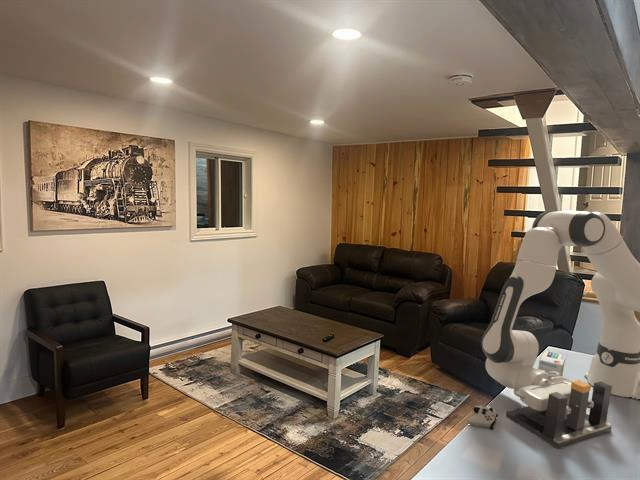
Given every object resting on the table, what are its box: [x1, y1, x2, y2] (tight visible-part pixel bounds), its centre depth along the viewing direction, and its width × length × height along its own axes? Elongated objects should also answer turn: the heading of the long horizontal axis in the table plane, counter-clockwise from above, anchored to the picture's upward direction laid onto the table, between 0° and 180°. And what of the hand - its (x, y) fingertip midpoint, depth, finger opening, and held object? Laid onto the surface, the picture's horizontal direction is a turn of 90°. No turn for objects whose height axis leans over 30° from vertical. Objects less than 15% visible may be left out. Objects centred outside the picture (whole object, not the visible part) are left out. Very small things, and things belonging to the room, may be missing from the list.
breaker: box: [566, 379, 592, 431], centre depth 115 cm, size 3×3×12 cm
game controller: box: [467, 405, 499, 430], centre depth 119 cm, size 10×5×6 cm
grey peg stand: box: [505, 382, 613, 450], centre depth 119 cm, size 22×16×12 cm
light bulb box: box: [537, 350, 566, 377], centre depth 141 cm, size 11×7×11 cm, turn 146°
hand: (580, 408), depth 114 cm, fingers open, 8 cm apart
